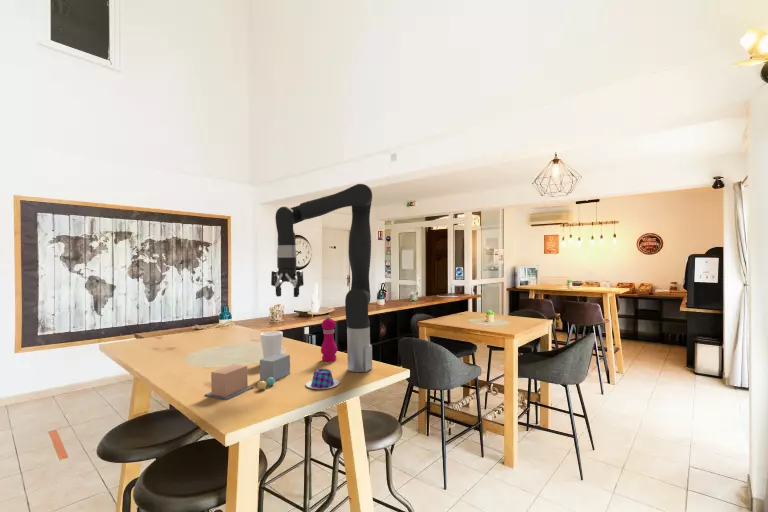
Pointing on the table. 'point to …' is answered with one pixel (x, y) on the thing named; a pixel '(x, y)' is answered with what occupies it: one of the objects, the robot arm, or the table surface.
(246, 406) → the table surface
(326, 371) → the pudding
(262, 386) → the marble
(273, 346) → the foam cup
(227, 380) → the cover terracotta
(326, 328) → the pepper mill
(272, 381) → the marble
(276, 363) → the plate
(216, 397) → the mat
